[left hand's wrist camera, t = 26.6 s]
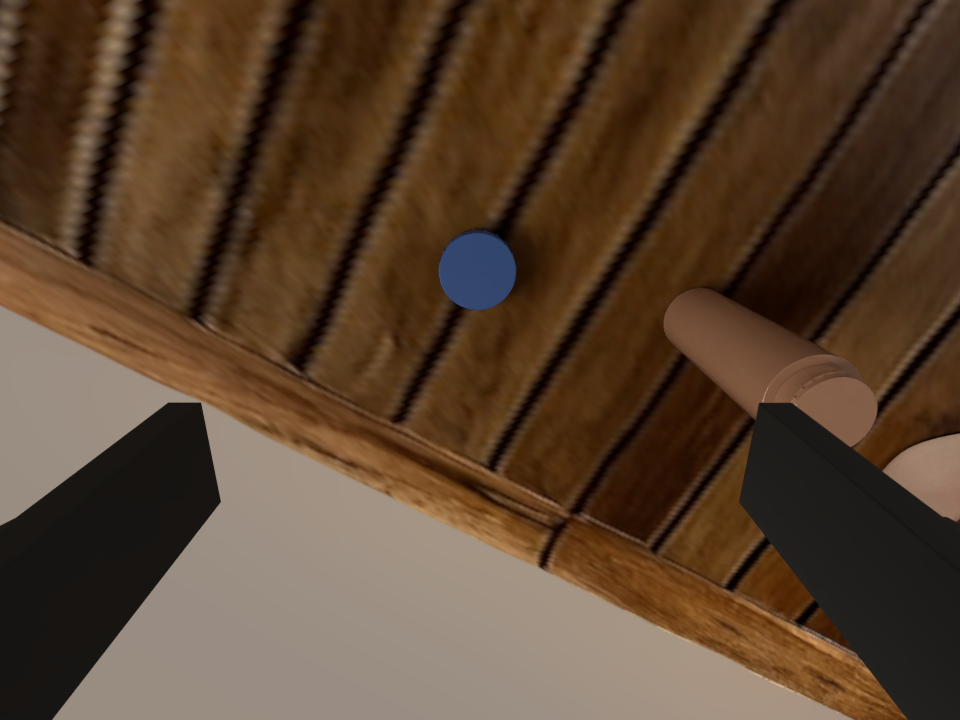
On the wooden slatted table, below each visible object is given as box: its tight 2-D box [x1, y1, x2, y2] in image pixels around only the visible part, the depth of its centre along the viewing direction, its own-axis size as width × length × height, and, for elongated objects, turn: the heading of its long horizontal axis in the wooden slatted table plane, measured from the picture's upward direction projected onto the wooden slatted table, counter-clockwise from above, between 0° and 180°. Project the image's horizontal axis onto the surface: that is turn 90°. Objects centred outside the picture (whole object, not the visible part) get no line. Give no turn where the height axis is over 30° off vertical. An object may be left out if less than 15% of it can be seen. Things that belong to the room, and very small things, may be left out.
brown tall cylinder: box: [664, 288, 877, 447], centre depth 32 cm, size 5×5×16 cm
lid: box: [439, 229, 517, 310], centre depth 37 cm, size 6×6×2 cm
